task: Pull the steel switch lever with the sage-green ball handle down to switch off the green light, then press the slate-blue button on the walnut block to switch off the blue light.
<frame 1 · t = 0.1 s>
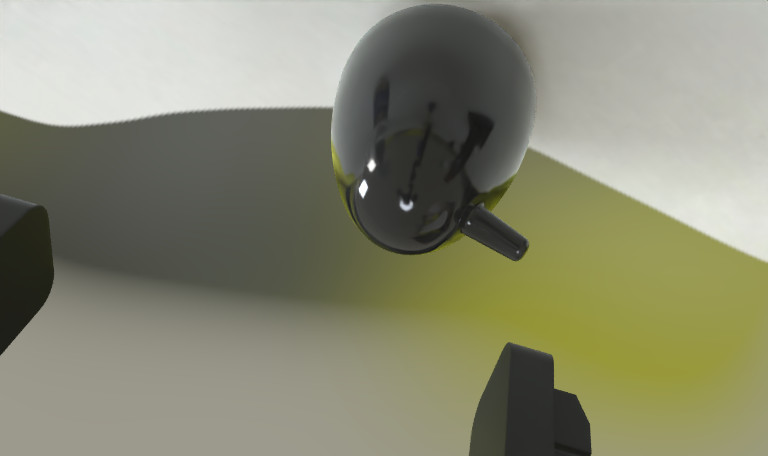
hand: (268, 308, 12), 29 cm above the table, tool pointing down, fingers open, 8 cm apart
black egg-shaped dome: (447, 72, 40), on the table
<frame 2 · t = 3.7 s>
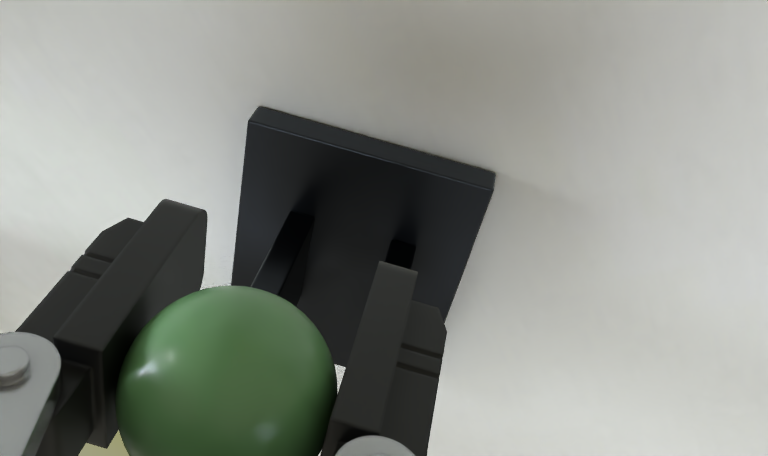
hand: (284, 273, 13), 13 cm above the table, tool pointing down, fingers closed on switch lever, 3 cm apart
switch lever: (252, 451, 15), point 13 cm above the table, hinge at 26.0°, touching gripper
switch bracket: (350, 252, 29), on the table
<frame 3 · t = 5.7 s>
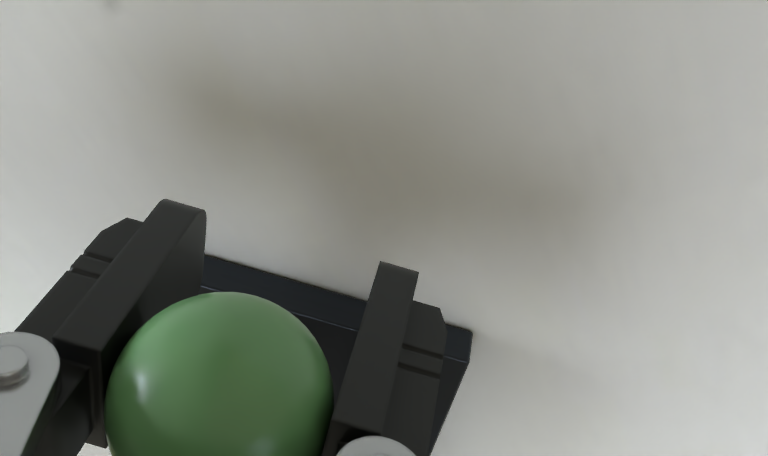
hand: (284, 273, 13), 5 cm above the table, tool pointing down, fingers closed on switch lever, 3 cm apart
switch bracket: (295, 407, 23), on the table
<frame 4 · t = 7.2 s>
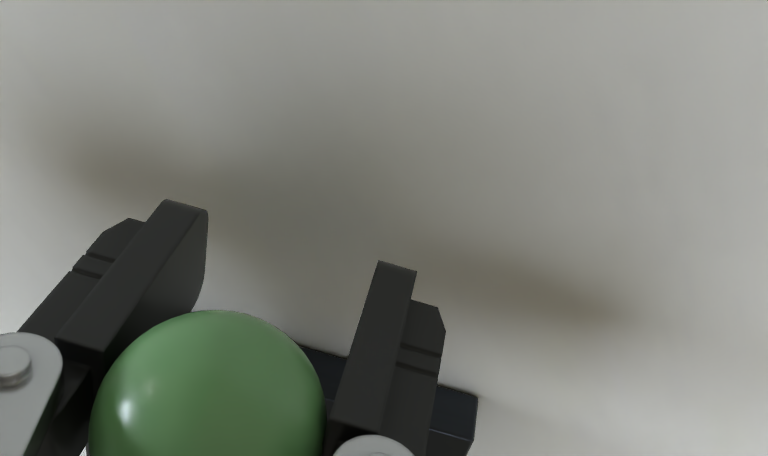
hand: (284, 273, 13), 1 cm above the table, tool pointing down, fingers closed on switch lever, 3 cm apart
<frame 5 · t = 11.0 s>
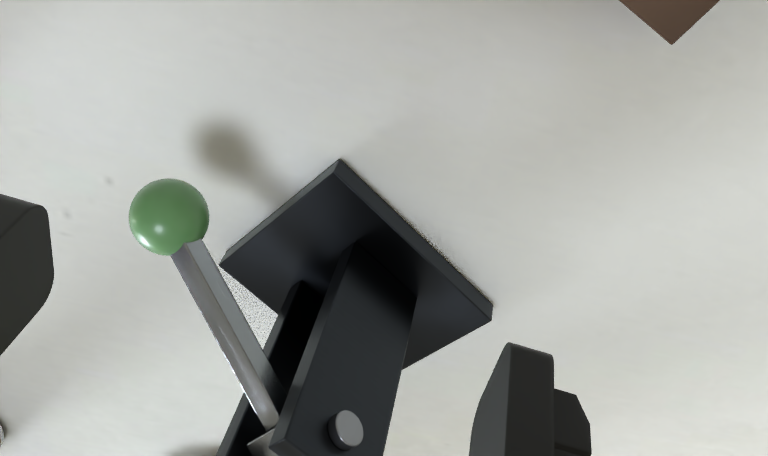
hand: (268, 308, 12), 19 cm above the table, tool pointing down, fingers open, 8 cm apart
switch lever: (231, 330, 29), point 8 cm above the table, hinge at -30.5°
switch bracket: (357, 277, 37), on the table
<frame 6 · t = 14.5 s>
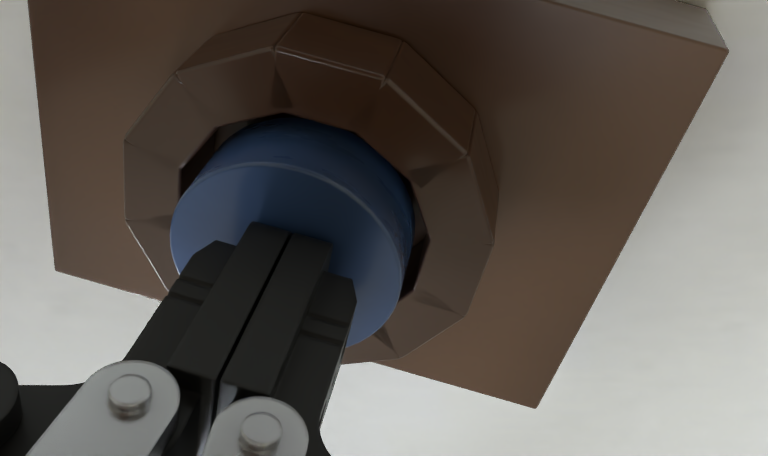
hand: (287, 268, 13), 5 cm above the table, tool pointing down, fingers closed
button block: (345, 135, 17), on the table
light button: (296, 239, 14), point 4 cm above the table, slide at -0.1 cm, touching gripper
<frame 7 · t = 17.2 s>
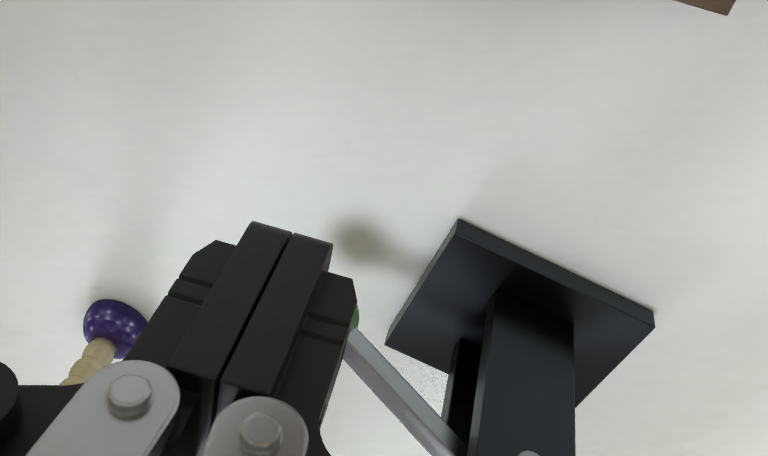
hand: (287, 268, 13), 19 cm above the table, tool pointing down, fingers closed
switch lever: (404, 402, 31), point 8 cm above the table, hinge at -30.5°
toy lamp: (126, 325, 45), on the table
switch bracket: (512, 321, 38), on the table
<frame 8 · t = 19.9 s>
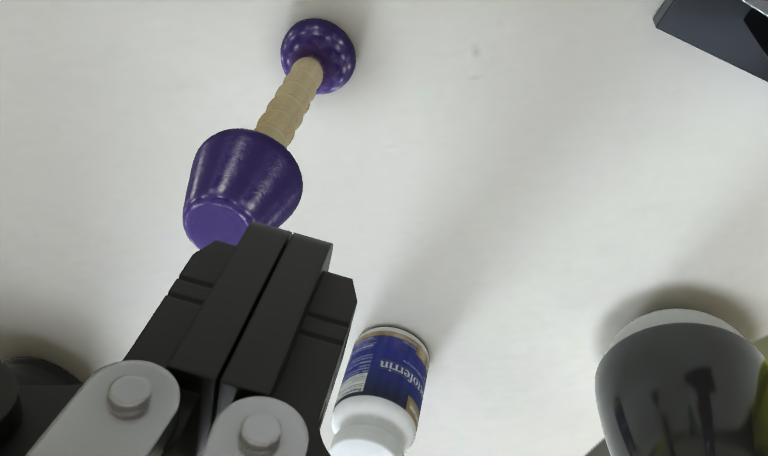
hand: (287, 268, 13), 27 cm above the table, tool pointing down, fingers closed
pill bottle: (392, 350, 53), on the table
black egg-shaped dome: (673, 339, 47), on the table
toy lamp: (325, 57, 40), on the table
lamp: (47, 389, 64), on the table
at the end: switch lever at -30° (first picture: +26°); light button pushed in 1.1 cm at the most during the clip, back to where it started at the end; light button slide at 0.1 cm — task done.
